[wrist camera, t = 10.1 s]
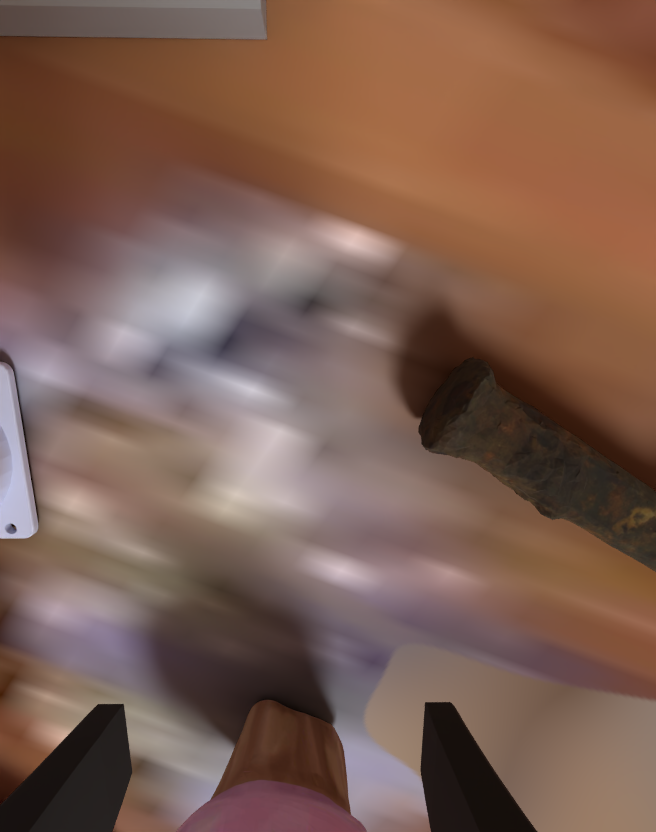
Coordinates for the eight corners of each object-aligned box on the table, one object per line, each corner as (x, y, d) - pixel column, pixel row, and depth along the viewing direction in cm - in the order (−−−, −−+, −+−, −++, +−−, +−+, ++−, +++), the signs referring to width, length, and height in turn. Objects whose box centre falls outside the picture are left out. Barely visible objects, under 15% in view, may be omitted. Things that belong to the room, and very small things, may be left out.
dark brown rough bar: (402, 424, 19) (427, 457, 14) (457, 350, 18) (502, 360, 13) (695, 626, 21) (796, 708, 17) (754, 568, 21) (876, 638, 16)
